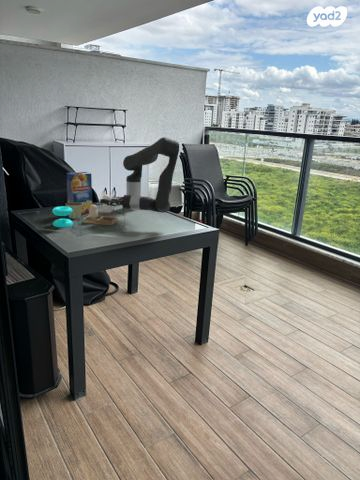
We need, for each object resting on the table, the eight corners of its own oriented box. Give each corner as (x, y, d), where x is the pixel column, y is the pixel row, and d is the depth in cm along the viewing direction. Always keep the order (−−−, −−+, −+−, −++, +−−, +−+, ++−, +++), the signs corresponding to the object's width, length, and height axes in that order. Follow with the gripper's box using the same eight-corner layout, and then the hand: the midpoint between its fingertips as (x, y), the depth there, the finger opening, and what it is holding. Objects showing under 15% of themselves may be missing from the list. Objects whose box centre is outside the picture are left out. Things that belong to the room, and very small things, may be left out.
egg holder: (89, 220, 208) (89, 214, 207) (117, 222, 205) (117, 217, 204) (82, 224, 200) (82, 218, 199) (112, 227, 197) (111, 221, 196)
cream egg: (104, 210, 202) (104, 193, 199) (112, 210, 201) (112, 193, 198) (101, 212, 198) (101, 194, 195) (109, 212, 197) (109, 195, 194)
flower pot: (75, 215, 215) (74, 201, 213) (87, 218, 211) (86, 203, 208) (62, 219, 208) (61, 203, 205) (74, 221, 203) (74, 206, 200)
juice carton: (74, 216, 214) (72, 174, 207) (68, 213, 220) (66, 173, 212) (92, 213, 222) (91, 173, 215) (86, 210, 227) (85, 171, 220)
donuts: (48, 208, 188) (59, 204, 197) (49, 227, 191) (60, 223, 200) (64, 211, 185) (76, 207, 194) (65, 230, 188) (76, 225, 197)
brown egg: (91, 219, 205) (90, 203, 202) (99, 220, 205) (98, 204, 202) (87, 221, 201) (87, 205, 198) (95, 222, 200) (95, 205, 197)
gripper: (136, 193, 201) (106, 190, 204) (128, 198, 188) (96, 195, 190) (136, 206, 203) (106, 204, 206) (128, 212, 190) (97, 209, 193)
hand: (102, 200), depth 198 cm, fingers closed on cream egg, 4 cm apart
